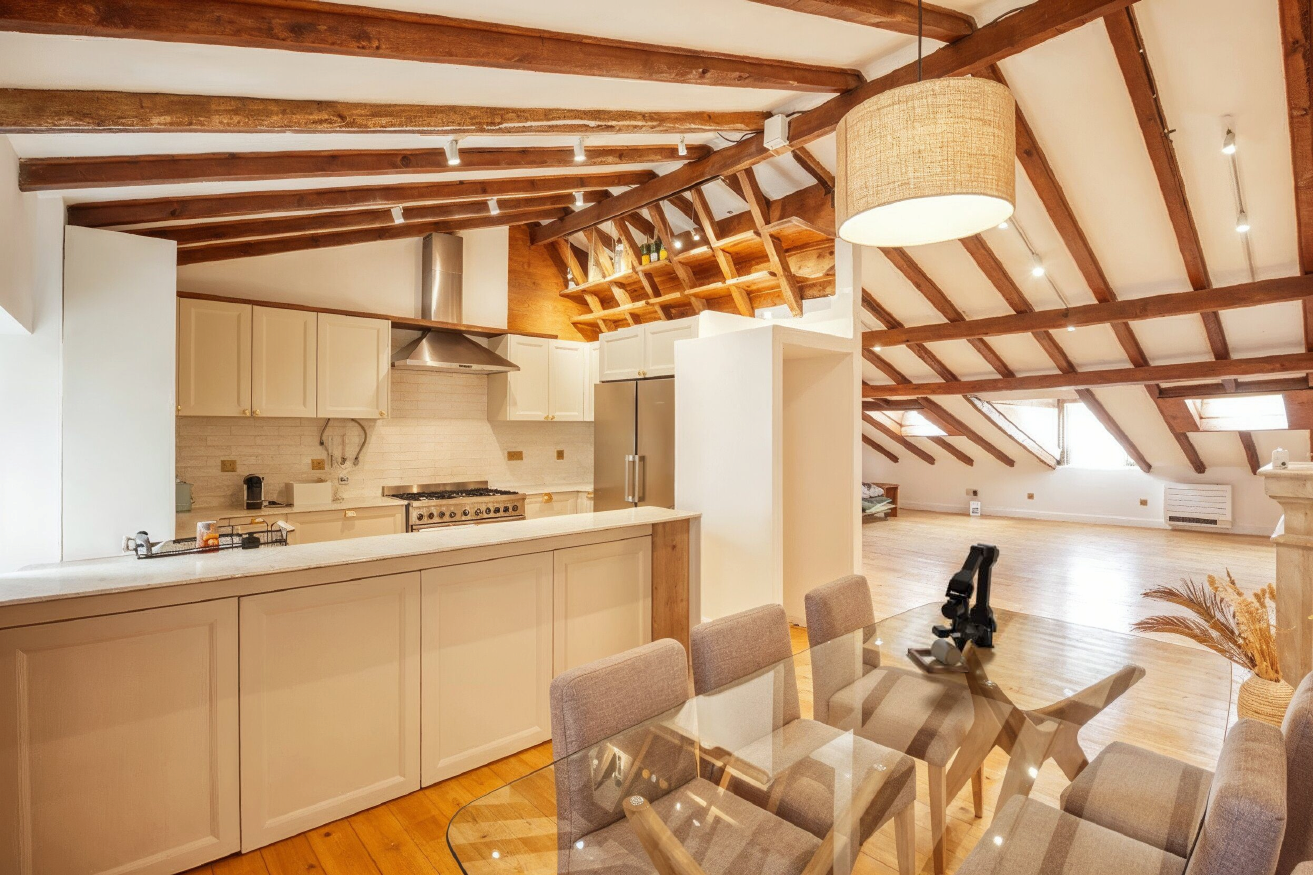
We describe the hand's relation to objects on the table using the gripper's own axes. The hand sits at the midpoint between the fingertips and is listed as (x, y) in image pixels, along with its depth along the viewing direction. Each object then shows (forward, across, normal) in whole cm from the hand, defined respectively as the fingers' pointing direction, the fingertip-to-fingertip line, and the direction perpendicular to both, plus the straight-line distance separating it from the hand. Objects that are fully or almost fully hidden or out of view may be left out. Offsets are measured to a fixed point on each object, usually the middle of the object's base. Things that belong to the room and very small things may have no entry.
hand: (959, 653), depth 231 cm
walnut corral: (+3, -8, 0) cm, 9 cm away
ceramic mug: (+3, -4, 0) cm, 5 cm away
